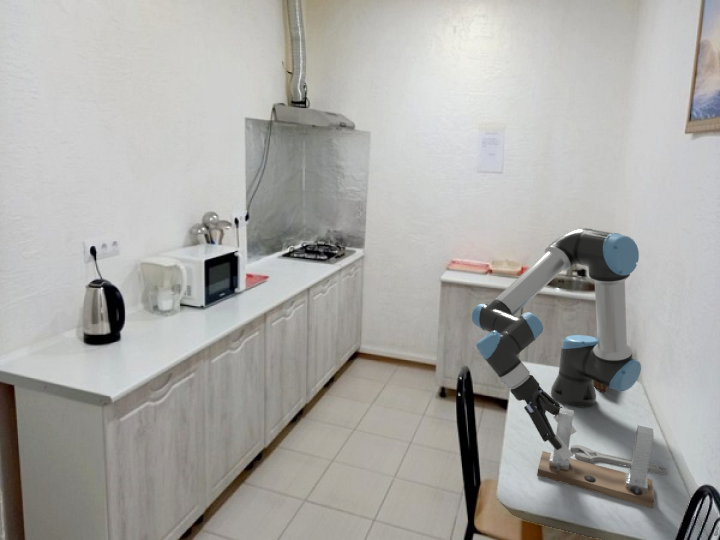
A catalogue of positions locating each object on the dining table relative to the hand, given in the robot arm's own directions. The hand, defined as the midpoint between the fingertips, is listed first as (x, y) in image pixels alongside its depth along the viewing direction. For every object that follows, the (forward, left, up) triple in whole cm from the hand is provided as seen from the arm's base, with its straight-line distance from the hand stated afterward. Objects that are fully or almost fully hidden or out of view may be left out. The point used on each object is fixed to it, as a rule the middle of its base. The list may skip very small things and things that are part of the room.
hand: (570, 445), depth 144 cm
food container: (-67, +6, -9) cm, 68 cm away
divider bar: (0, +7, -9) cm, 11 cm away
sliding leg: (+1, -2, -6) cm, 7 cm away
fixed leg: (+1, +17, -7) cm, 18 cm away
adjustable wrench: (-13, +12, -9) cm, 20 cm away
